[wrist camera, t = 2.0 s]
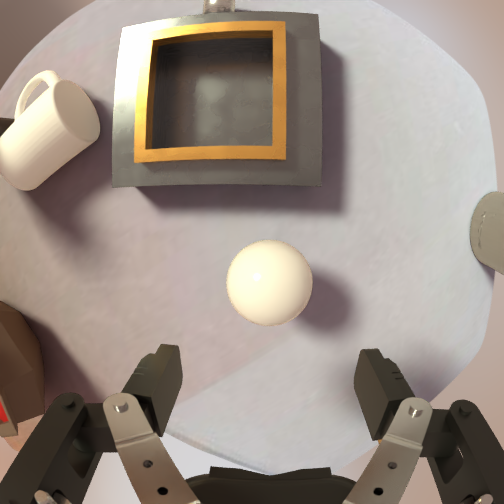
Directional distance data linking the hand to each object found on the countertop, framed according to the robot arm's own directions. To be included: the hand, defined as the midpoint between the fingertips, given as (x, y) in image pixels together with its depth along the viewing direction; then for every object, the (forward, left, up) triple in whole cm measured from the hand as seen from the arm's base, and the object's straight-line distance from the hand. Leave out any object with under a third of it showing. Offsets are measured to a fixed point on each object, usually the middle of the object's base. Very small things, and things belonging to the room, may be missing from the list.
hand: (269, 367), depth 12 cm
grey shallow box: (+5, -17, -18) cm, 25 cm away
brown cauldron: (+41, +16, -18) cm, 48 cm away
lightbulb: (0, 0, -18) cm, 18 cm away
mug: (+24, -15, -18) cm, 34 cm away
